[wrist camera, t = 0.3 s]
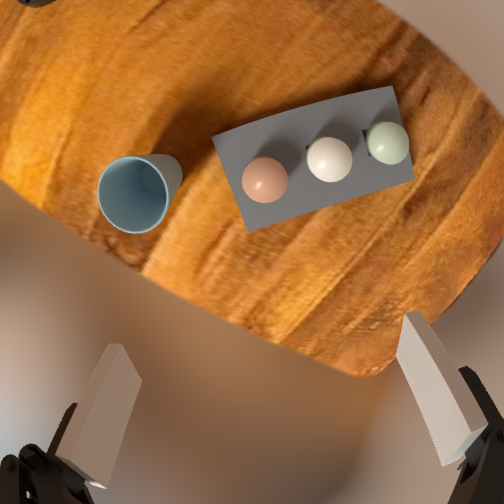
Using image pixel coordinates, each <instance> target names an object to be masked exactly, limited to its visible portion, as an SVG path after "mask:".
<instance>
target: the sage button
mask: <svg viewBox="0 0 504 504" xmlns="http://www.w3.org/2000/svg"><path fill="white" fill-rule="evenodd" d="M366 147H367V150H368V152H369V154H370V155H371V156H372V157H373V158H374V159H376V160H378V161H380V162H383V163H385V164H390V165H393V164H397V163H399V162H401V161H402V160H403V159H404V158H405V157H406V155H407V153H408V150H409V138H408V135H407V133H406V131H405V130H404V129H403V128H402V127H401V126H400V125H398V124H396V123H393V122H377V123H375V124H373V125H372V126H371V127H370V128H369V130H368V132H367V134H366Z"/></svg>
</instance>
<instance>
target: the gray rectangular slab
mask: <svg viewBox="0 0 504 504" xmlns="http://www.w3.org/2000/svg"><path fill="white" fill-rule="evenodd" d="M377 122H393V123H396V124H398V125H400V126H401V127H402V128H403V129H404V125H403V121H402V118H401V114H400V110H399V107H398V103H397V100H396V96H395V93H394V90H393V86H387V87H382V88H377V89H371V90H367V91H362V92H357V93H353V94H348V95H344V96H340V97H336V98H332V99H328V100H324V101H320V102H316V103H312V104H309V105H305V106H302V107H298V108H295V109H291V110H288V111H285V112H281V113H278V114H275V115H272V116H269V117H266V118H263V119H260V120H257V121H254V122H251V123H248V124H245V125H242V126H240V127H237V128H234V129H231V130H229V131H226V132H223V133H221V134H218V135H215V136H213V137H211V138H212V141H213V143H214V146H215V148H216V151H217V153H218V156H219V158H220V161H221V164H222V166H223V169H224V171H225V174H226V176H227V179H228V181H229V184H230V186H231V189H232V191H233V194H234V196H235V199H236V201H237V204H238V207H239V209H240V212H241V214H242V217H243V219H244V222H245V224H246V227H247V229H248V232H251V231H254V230H257V229H260V228H263V227H266V226H269V225H272V224H275V223H278V222H281V221H284V220H287V219H290V218H293V217H297V216H300V215H303V214H306V213H309V212H312V211H315V210H318V209H321V208H325V207H328V206H331V205H334V204H337V203H340V202H344V201H347V200H350V199H353V198H356V197H360V196H363V195H366V194H369V193H372V192H376V191H379V190H382V189H385V188H389V187H392V186H395V185H399V184H402V183H405V182H409V181H412V180H415V177H414V172H413V166H412V161H411V156H410V151H409V150H408V153H407V155H406V157H405V158H404V159H403V160H402V161H401V162H399V163H397V164H393V165H390V164H385V163H383V162H380V161H378V160H376V159H374V158H373V157H372V156H371V155H370V154H369V152H368V150H367V147H366V134H367V132H368V130H369V128H370V127H371V126H372V125H373V124H375V123H377ZM404 130H405V129H404ZM320 137H333V138H336V139H339V140H341V141H343V142H344V143H345V144H346V145H347V146H348V147H349V149H350V151H351V154H352V166H351V169H350V171H349V173H348V174H347V175H346V176H345V177H344V178H343V179H341V180H339V181H336V182H325V181H322V180H320V179H319V178H317V177H316V176H315V175H314V174H313V173H312V172H311V171H310V170H309V168H308V166H307V163H306V151H307V149H308V147H309V145H310V144H311V143H312V142H313V141H314V140H316V139H317V138H320ZM261 156H268V157H272V158H274V159H276V160H277V161H279V162H280V163H281V164H282V166H283V167H284V169H285V171H286V173H287V176H288V185H287V189H286V191H285V192H284V194H283V195H282V196H281V197H280V198H279V199H277V200H276V201H273V202H270V203H260V202H256V201H254V200H252V199H251V198H250V197H249V196H248V195H247V194H246V193H245V191H244V189H243V186H242V175H243V171H244V169H245V167H246V165H247V164H248V163H249V162H250V161H251V160H253V159H254V158H257V157H261Z"/></svg>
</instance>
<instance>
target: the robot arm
mask: <svg viewBox="0 0 504 504" xmlns="http://www.w3.org/2000/svg"><path fill="white" fill-rule="evenodd" d="M17 1H18V2H19V3H21V4H22V5H25V6H29V7H33V8H37V7H42V6H45V5H47V4H49V3H51V2H53V1H55V0H17ZM396 357H397V359H398V361H399V364H400V365H401V368H402V370H403V372H404V374H405V376H406V379H407V381H408V383H409V385H410V387H411V390H412V391H413V394H414V396H415V399H416V401H417V403H418V405H419V408H420V410H421V413H422V415H423V417H424V420H425V422H426V425H427V427H428V430H429V432H430V435H431V437H432V440H433V442H434V445H435V447H436V450H437V452H438V455H439V458H440V461H441V464H442V466H445V465H447V464H450V463H452V462H454V461H456V460H458V459H459V458H460V457H461V456H462V455H463V454H464V453H465V455H466V459H465V460H464V461H463V462H462V463H461V464H460V466H459V467H458V469H457V470H460V469H461V468H462V470H461V472H460V475H459V478H458V480H457V483H456V485H455V488H454V490H453V492H452V495H451V497H450V499H449V502H448V504H504V419H503V418H502V416H501V415H500V413H499V411H498V409H497V408H496V406H495V404H494V402H493V401H492V399H491V397H490V396H489V394H488V392H487V391H486V389H485V387H484V386H483V384H481V380H480V379H479V377H478V376H477V374H476V373H475V372H474V371H473V370H471V369H470V368H469V367H468V366H465V367H462V368H459V369H457V367H456V366H455V364H454V362H453V360H452V359H451V357H450V356H449V354H448V353H447V351H446V349H445V348H444V346H443V345H442V343H441V342H440V340H439V339H438V337H437V336H436V334H435V333H434V331H433V330H432V328H431V327H430V325H429V324H428V322H427V321H426V319H425V318H424V316H423V315H422V314H421V312H420V311H419V310H417V311H413V312H408V313H405V315H404V321H403V326H402V331H401V336H400V340H399V345H398V349H397V354H396ZM141 383H142V380H141V379H140V377H139V375H138V373H137V372H136V370H135V368H134V366H133V364H132V362H131V361H130V359H129V357H128V355H127V353H126V351H125V350H124V347H123V345H122V344H108V346H107V348H106V350H105V352H104V354H103V356H102V357H101V359H100V361H99V363H98V365H97V367H96V369H95V371H94V373H93V374H92V377H91V379H90V380H89V382H88V384H87V386H86V388H85V390H84V392H83V394H82V397H81V398H80V401H79V403H73V404H72V405H71V406H70V407H69V408H68V409H67V410H66V412H65V414H64V416H63V418H62V421H61V422H60V424H59V428H58V429H57V431H56V433H55V435H54V437H53V440H52V442H51V444H50V446H49V449H48V451H47V453H45V452H43V451H42V450H41V449H40V448H39V447H38V446H37V445H36V444H27V445H25V446H24V447H23V448H22V449H21V450H20V453H19V456H18V457H19V458H17V457H16V456H14V455H11V454H9V455H7V456H5V457H4V458H3V460H2V461H1V465H0V504H94V502H93V500H92V497H91V495H90V493H89V491H88V489H87V487H86V485H85V484H84V483H85V480H87V481H88V482H89V483H91V484H92V485H95V486H98V487H101V488H106V489H107V487H108V484H109V481H110V477H111V474H112V470H113V467H114V464H115V461H116V457H117V454H118V451H119V448H120V445H121V441H122V438H123V435H124V432H125V429H126V426H127V423H128V420H129V417H130V414H131V411H132V408H133V405H134V403H135V399H136V397H137V394H138V391H139V388H140V385H141ZM27 493H29V494H30V497H29V499H28V498H27Z"/></svg>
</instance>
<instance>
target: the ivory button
mask: <svg viewBox="0 0 504 504" xmlns="http://www.w3.org/2000/svg"><path fill="white" fill-rule="evenodd" d="M306 163H307V166H308V168H309V170H310V171H311V172H312V173H313V174H314V175H315V176H316V177H317V178H319V179H320V180H322V181H325V182H336V181H339V180H341V179H343V178H344V177H345V176H346V175H347V174H348V173H349V171H350V169H351V166H352V154H351V151H350V149H349V147H348V146H347V145H346V144H345V143H344V142H343V141H341V140H339V139H336V138H333V137H320V138H317V139H316V140H314V141H313V142H312V143H311V144H310V145H309V147H308V149H307V151H306Z"/></svg>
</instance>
